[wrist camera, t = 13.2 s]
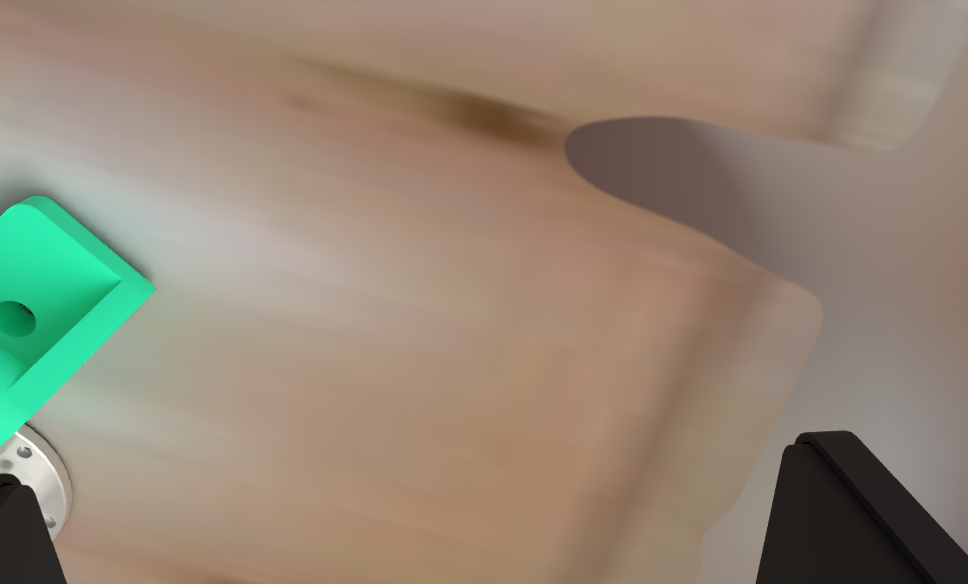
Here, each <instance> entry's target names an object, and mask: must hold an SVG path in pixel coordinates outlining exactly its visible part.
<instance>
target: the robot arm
mask: <svg viewBox="0 0 968 584" xmlns="http://www.w3.org/2000/svg"><path fill="white" fill-rule="evenodd" d="M71 504H72V489H71V483H70V480H69V477H68V474H67V470H66V469H65V467H64V465H63V463H62V462H61V460H60V458H59V456H58V455H57V454H56V453H55V451H54V450H53V449H52V448H51V447H50V446H49V444H48V443H47V442H46V441H45V440H44V439H43V438H42V437H40V436H39V435H38V434H37V433H36V432H34V431H33V430H32V429H31V428H29V427H28V426H26V425H25V424H23V425H22V426H21V427H20V428H19V429H18V430H17V431H16V432H15V433H14V434H13V435H12V436H11V437H10V438H9V439H8V440H7V441H6V442H5V443H4V444H3V445H2V446H1V447H0V584H67V582H66V580H65V577H64V574H63V571H62V568H61V565H60V562H59V560H58V557H57V554H56V551H55V548H54V545H53V542H52V541H53V540H54V539H55V537H56V536H57V534H58V533H59V532H60V530H61V529H62V527H63V526H64V524H65V522H66V520H67V518H68V516H69V514H70V509H71ZM756 584H968V555H967V554H966V553H965V552H964V551H963V550H962V549H961V548H960V546H958V544H957V543H956V542H955V541H954V540H953V539H952V538H951V537H950V536H949V535H948V534H947V533H946V532H945V530H944V529H943V528H941V526H940V525H939V524H938V523H937V522H936V521H935V520H934V519H933V518H932V517H931V515H930V514H929V513H928V512H927V511H926V510H925V509H924V508H923V507H922V506H921V505H920V504H919V503H918V502H917V501H916V499H915V498H914V497H913V496H912V495H911V494H910V493H909V492H908V491H907V490H906V489H905V488H904V486H903V485H902V484H901V483H900V482H899V481H898V480H897V479H896V478H895V477H894V476H893V475H892V474H891V473H890V471H888V470H887V468H886V467H885V466H884V465H883V464H882V463H881V462H880V461H879V460H878V459H877V458H876V457H875V455H874V454H873V453H871V451H870V450H869V449H868V448H867V447H866V446H865V445H864V444H863V443H862V442H861V440H860V439H859V438H858V437H857V436H855V435H854V434H853V433H852V432H849V431H845V430H844V431H826V432H825V431H824V432H806V433H802V434H800V435H799V436H798V437H797V439H796V441H795V444H794V445H788V446H787V447H786V448H785V449H784V452H783V455H782V460H781V465H780V470H779V474H778V479H777V484H776V489H775V494H774V498H773V503H772V508H771V513H770V518H769V522H768V527H767V532H766V537H765V542H764V546H763V551H762V556H761V560H760V565H759V570H758V575H757V580H756Z"/></svg>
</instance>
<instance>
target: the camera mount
mask: <svg viewBox="0 0 968 584" xmlns="http://www.w3.org/2000/svg"><path fill="white" fill-rule="evenodd" d="M155 289H156V287H155V286H154V285H152V284H151V283H150V282H149V281H148V280H147V279H145V278H144V277H143V276H142V275H141V274H139V273H138V272H137V271H136V270H135V269H133V268H132V267H131V266H130V265H129V264H128V263H126V262H125V261H124V260H123V259H122V258H120V257H119V256H118V255H117V254H116V253H114V252H113V251H112V250H111V249H110V248H109V247H107V246H106V245H105V244H104V243H103V242H101V241H100V240H99V239H98V238H97V237H95V236H94V235H93V234H92V233H91V232H90V231H88V230H87V229H86V228H85V227H84V226H82V225H81V224H80V223H79V222H78V221H76V220H75V219H74V218H73V217H72V216H71V215H69V214H68V213H67V212H66V211H65V210H63V209H62V208H61V207H60V206H59V205H57V204H56V203H55V202H54V201H52V200H51V199H49V198H47V197H44V196H31V197H28V198H26V199H24V200H23V201H21V202H19V203H17V204H15V205H13V206H11V207H10V208H9V209H7V210H6V211H5V212H4V213H3V215H2V216H1V217H0V447H1V446H2V445H3V444H4V443H5V442H6V441H7V440H8V439H9V438H10V437H11V436H12V435H13V434H14V433H15V432H16V431H17V430H18V429H19V428H20V427H21V426H22V425H23V424H24V423H25V422H26V421H27V420H28V419H29V418H30V417H31V416H32V415H33V414H34V413H35V412H36V411H37V410H38V409H39V408H40V407H41V406H42V405H43V404H44V403H45V402H46V401H47V400H48V399H49V398H50V397H51V396H52V395H53V394H54V393H55V392H56V391H57V390H58V389H59V388H60V387H61V386H62V385H63V384H64V383H65V382H66V381H67V380H68V379H69V378H70V377H71V376H72V375H73V374H74V373H75V372H76V371H77V370H78V369H79V368H80V367H81V366H82V365H83V364H84V363H85V361H86V360H87V359H88V358H89V357H90V356H91V355H92V354H93V353H94V352H95V351H96V350H97V349H98V348H99V347H100V346H101V345H102V344H103V343H104V342H105V341H106V340H107V339H108V338H109V337H110V336H111V335H112V334H113V333H114V332H115V331H116V330H117V329H118V328H119V327H120V326H121V325H122V324H123V323H124V322H125V321H126V320H127V319H128V318H129V317H130V316H131V315H132V314H133V313H134V312H135V311H136V310H137V309H138V308H139V307H140V306H141V305H142V304H143V303H144V302H145V301H146V300H147V298H148V297H149V296H150V295H151V294H152V293H153V292H154V291H155ZM18 302H19V303H21V304H23V305H25V306H26V307H28V308H29V309H30V310H31V311H32V313H33V314H34V316H33V315H30V314H29V313H27V312H26V311H24V310H23V309H22V308H21V306H20V305H19V303H18Z"/></svg>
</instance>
